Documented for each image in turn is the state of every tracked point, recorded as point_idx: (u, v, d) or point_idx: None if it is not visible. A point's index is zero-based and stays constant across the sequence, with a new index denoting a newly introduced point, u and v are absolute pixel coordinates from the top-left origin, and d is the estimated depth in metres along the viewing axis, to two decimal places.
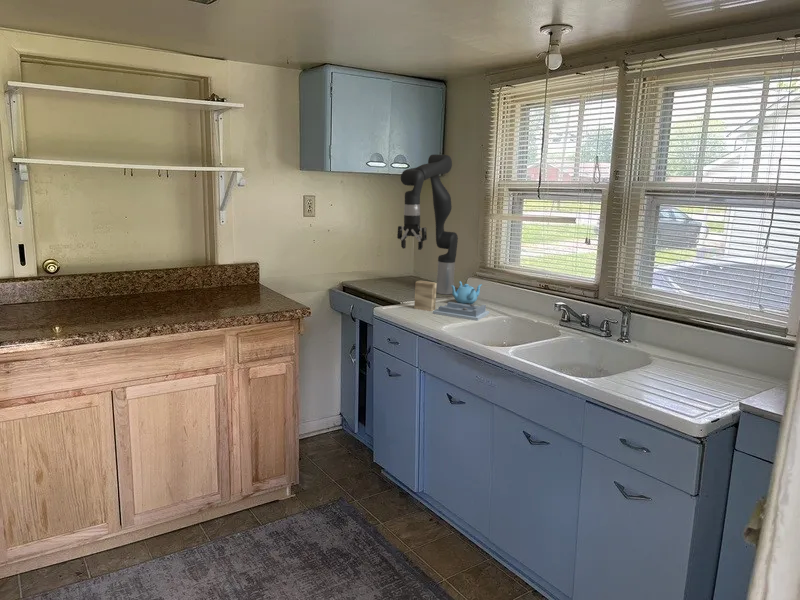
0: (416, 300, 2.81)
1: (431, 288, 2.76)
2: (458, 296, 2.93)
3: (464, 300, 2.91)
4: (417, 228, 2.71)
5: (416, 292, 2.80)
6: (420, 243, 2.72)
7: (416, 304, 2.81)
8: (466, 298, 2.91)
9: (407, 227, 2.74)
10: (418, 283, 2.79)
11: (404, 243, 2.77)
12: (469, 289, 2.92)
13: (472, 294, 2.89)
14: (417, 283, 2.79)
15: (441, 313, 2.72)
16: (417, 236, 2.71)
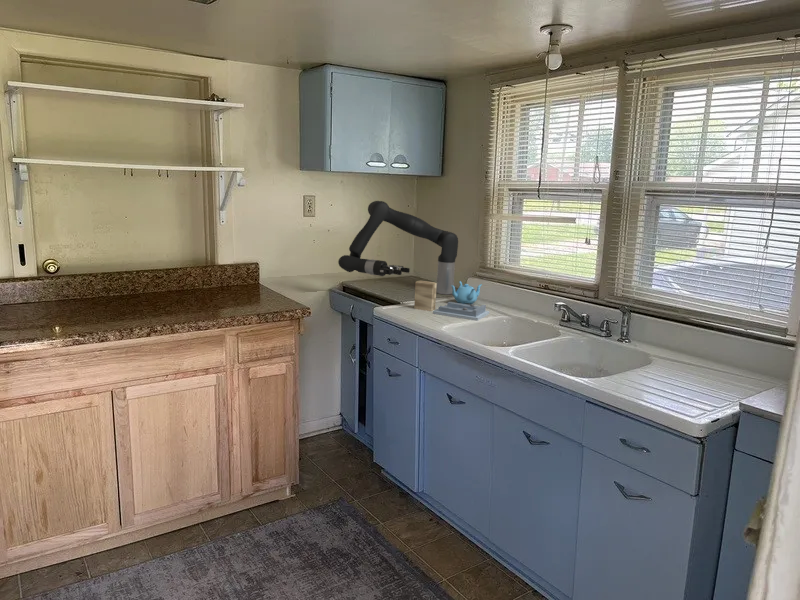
0: (416, 300, 2.81)
1: (431, 288, 2.76)
2: (458, 296, 2.93)
3: (464, 300, 2.91)
4: None
5: (416, 292, 2.80)
6: (394, 273, 2.81)
7: (416, 304, 2.81)
8: (466, 298, 2.91)
9: None
10: (418, 283, 2.79)
11: (404, 270, 2.88)
12: (469, 289, 2.92)
13: (472, 294, 2.89)
14: (417, 283, 2.79)
15: (441, 313, 2.72)
16: None
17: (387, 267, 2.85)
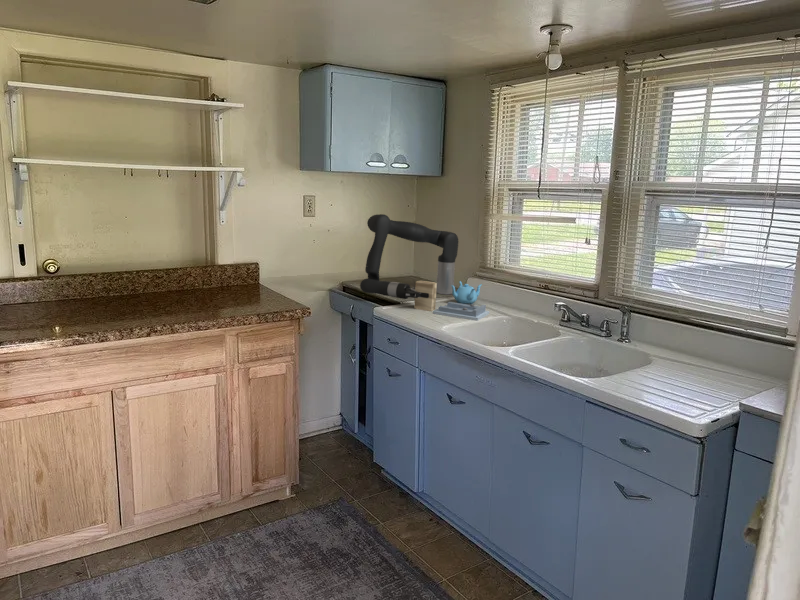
0: (416, 300, 2.81)
1: (431, 288, 2.76)
2: (458, 296, 2.93)
3: (464, 300, 2.91)
4: None
5: None
6: (422, 296, 2.78)
7: (416, 303, 2.81)
8: (466, 298, 2.91)
9: None
10: (418, 283, 2.79)
11: None
12: (469, 289, 2.92)
13: (472, 294, 2.89)
14: (417, 283, 2.79)
15: (441, 313, 2.72)
16: None
17: (411, 290, 2.82)
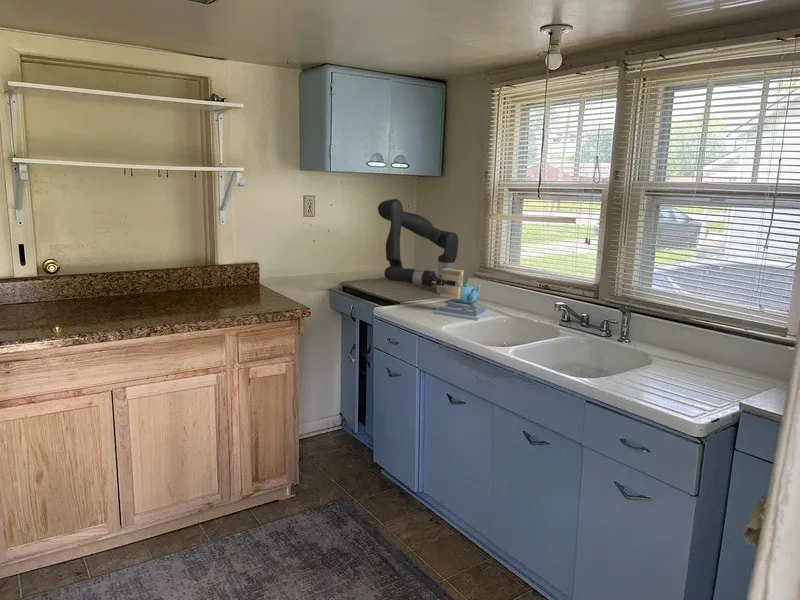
0: (442, 288, 2.76)
1: (458, 275, 2.71)
2: None
3: (464, 300, 2.91)
4: None
5: None
6: (448, 284, 2.73)
7: (442, 291, 2.76)
8: (466, 298, 2.91)
9: None
10: (445, 270, 2.74)
11: None
12: (469, 289, 2.92)
13: (472, 294, 2.89)
14: (444, 270, 2.74)
15: (441, 313, 2.72)
16: None
17: (437, 278, 2.76)
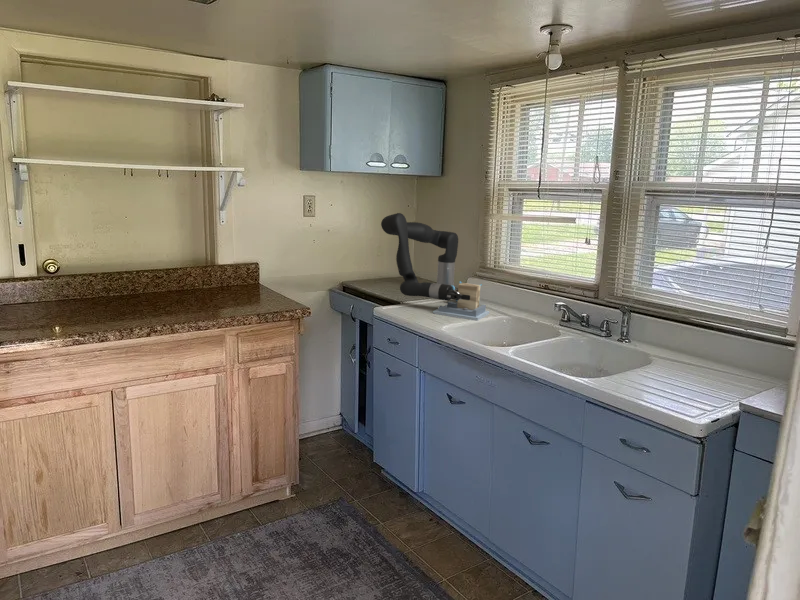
0: (459, 303, 2.73)
1: (475, 291, 2.69)
2: None
3: None
4: None
5: None
6: (463, 298, 2.69)
7: (459, 307, 2.74)
8: None
9: None
10: (461, 285, 2.71)
11: None
12: None
13: None
14: (460, 285, 2.71)
15: (441, 313, 2.72)
16: None
17: (453, 292, 2.74)
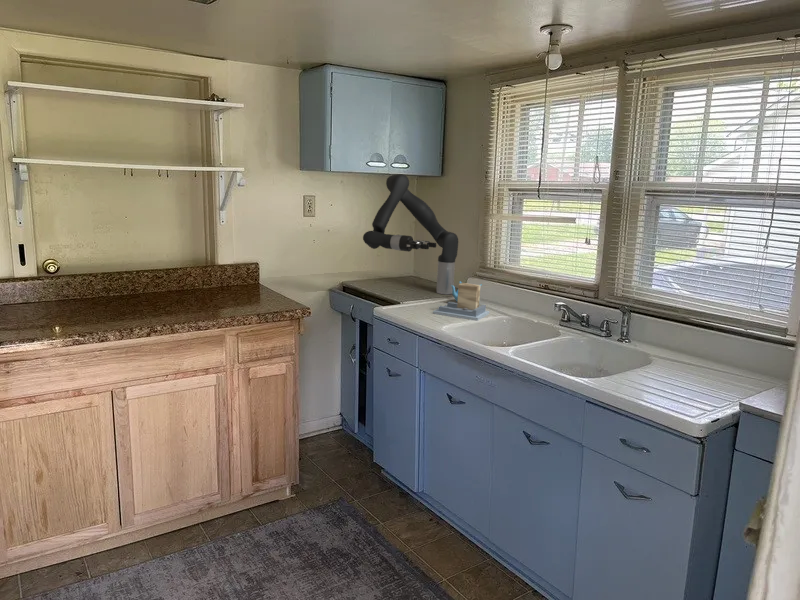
0: (459, 303, 2.73)
1: (475, 291, 2.69)
2: None
3: None
4: None
5: (459, 295, 2.73)
6: (422, 248, 2.75)
7: (459, 307, 2.74)
8: None
9: None
10: (461, 285, 2.71)
11: (431, 245, 2.82)
12: None
13: None
14: (460, 285, 2.71)
15: (441, 313, 2.72)
16: None
17: (413, 242, 2.80)
